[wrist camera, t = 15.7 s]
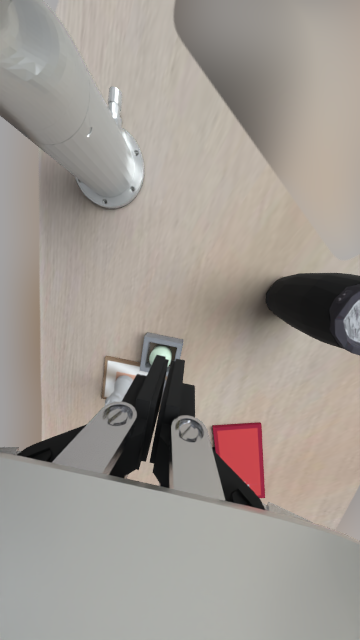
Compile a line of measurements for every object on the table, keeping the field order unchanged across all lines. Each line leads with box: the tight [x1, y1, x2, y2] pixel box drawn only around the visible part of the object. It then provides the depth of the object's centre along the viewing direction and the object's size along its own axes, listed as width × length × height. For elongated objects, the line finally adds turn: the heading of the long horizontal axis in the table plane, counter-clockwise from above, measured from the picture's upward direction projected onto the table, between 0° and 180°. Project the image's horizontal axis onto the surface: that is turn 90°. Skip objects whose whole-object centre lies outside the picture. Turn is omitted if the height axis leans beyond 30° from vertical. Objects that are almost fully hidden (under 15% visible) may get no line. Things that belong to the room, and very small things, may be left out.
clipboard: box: [102, 356, 168, 410], centre depth 44 cm, size 11×15×2 cm
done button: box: [149, 344, 172, 366], centre depth 40 cm, size 4×4×3 cm
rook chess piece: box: [105, 375, 133, 406], centre depth 40 cm, size 4×4×8 cm
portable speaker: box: [266, 273, 360, 355], centre depth 28 cm, size 9×9×20 cm
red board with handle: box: [212, 423, 265, 498], centre depth 48 cm, size 30×3×15 cm
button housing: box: [140, 332, 183, 376], centre depth 41 cm, size 8×8×2 cm
